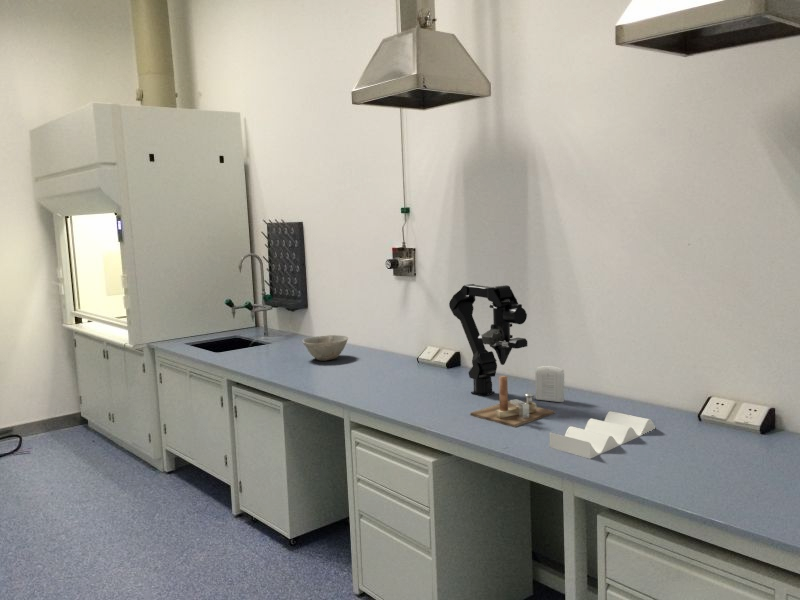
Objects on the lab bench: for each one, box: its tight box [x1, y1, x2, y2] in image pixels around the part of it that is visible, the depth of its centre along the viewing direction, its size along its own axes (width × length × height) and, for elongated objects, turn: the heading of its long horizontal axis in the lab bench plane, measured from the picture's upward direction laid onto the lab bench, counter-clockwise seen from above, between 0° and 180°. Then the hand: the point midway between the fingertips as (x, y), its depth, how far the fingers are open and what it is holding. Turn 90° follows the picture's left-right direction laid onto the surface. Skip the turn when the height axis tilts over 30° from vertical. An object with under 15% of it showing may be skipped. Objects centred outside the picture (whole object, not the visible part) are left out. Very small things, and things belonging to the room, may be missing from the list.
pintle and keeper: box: [509, 392, 534, 419], centre depth 217 cm, size 8×7×6 cm
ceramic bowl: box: [301, 334, 349, 362], centre depth 324 cm, size 22×23×10 cm
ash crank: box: [496, 375, 537, 418], centre depth 217 cm, size 15×4×13 cm, turn 115°
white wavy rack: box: [548, 410, 657, 460], centre depth 194 cm, size 13×35×5 cm, turn 130°
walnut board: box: [469, 400, 555, 428], centre depth 221 cm, size 19×20×1 cm
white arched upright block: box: [535, 365, 565, 403], centre depth 236 cm, size 10×4×12 cm, turn 60°
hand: (502, 364), depth 237 cm, fingers closed
